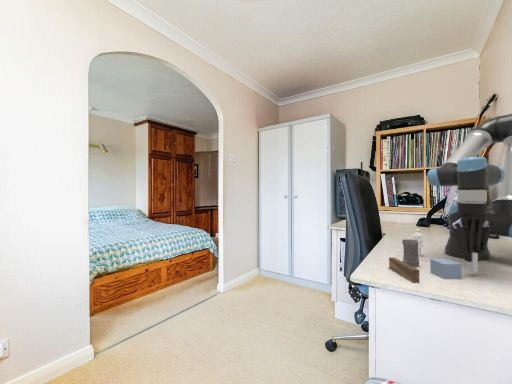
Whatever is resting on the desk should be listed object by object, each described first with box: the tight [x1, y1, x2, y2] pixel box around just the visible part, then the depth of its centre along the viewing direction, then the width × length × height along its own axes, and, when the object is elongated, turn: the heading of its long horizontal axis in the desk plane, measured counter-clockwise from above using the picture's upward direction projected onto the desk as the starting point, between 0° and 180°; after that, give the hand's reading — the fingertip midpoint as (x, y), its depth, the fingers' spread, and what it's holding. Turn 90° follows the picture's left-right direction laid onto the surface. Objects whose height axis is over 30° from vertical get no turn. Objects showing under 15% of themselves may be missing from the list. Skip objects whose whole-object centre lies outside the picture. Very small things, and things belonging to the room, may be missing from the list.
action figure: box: [406, 228, 424, 257], centre depth 107 cm, size 6×4×12 cm, turn 36°
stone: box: [402, 238, 420, 268], centre depth 93 cm, size 3×6×10 cm, turn 70°
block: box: [429, 258, 463, 280], centre depth 82 cm, size 6×6×5 cm
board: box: [388, 257, 420, 283], centre depth 83 cm, size 2×14×4 cm, turn 179°
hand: (471, 270), depth 81 cm, fingers closed
